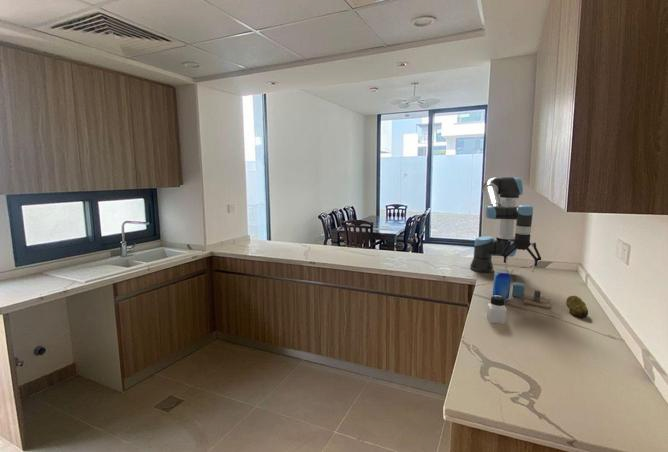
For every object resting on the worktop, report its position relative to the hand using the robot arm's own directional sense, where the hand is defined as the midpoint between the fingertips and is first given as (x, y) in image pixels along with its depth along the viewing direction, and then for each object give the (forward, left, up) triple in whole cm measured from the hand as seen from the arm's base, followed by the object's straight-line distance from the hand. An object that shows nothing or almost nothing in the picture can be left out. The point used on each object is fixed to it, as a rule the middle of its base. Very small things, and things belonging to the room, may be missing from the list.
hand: (519, 270), depth 202 cm
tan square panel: (+8, +9, -15) cm, 19 cm away
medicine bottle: (+41, -10, -15) cm, 44 cm away
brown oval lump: (+15, +26, -15) cm, 34 cm away
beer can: (+9, -8, -15) cm, 20 cm away
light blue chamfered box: (0, 0, -15) cm, 15 cm away
